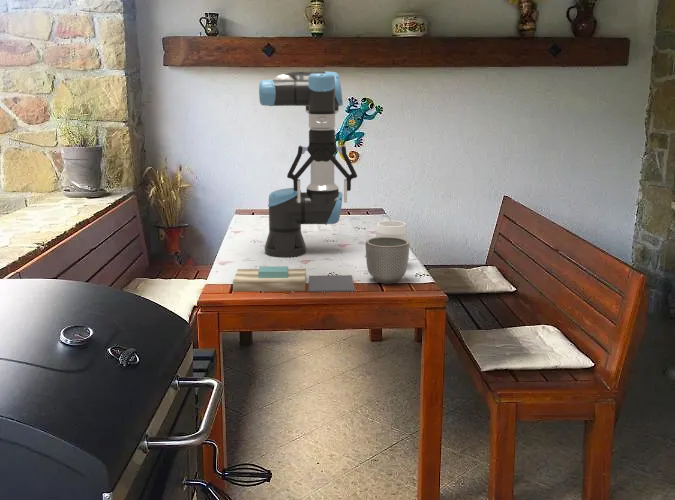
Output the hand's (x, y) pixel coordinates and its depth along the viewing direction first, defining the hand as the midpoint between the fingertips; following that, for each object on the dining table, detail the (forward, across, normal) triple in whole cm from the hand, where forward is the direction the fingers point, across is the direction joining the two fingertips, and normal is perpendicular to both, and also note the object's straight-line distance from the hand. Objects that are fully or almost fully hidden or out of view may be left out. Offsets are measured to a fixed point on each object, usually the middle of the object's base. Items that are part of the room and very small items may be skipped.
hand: (322, 202), depth 210 cm
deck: (+28, -16, +9) cm, 34 cm away
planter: (+28, +21, +12) cm, 37 cm away
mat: (+28, +3, +9) cm, 30 cm away
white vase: (+28, +24, +29) cm, 47 cm away
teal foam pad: (+25, -15, +9) cm, 31 cm away
